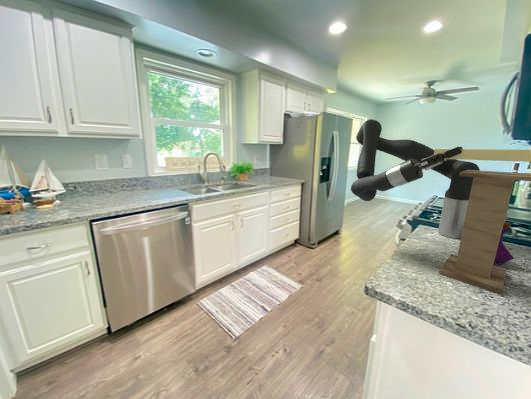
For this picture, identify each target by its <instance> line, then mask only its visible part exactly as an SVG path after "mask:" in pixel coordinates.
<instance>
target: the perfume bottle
mask: <svg viewBox="0 0 531 399" xmlns="http://www.w3.org/2000/svg"><path fill="white" fill-rule="evenodd" d="M508 217H509V213H508V211H507V212H506V216H505V220H504V224H503V228H502V232H501V236H500V240H499V244H498V248H497V252H496V256H495V260H494V264H495V265H503V264H505V263H509V262H510V261H512V260H514V259H515V257H514V256H513V255H512V254H511V252H510V251H509V250H508V249H507V247H506V246H505V245H504V243H503V236H505V234H506V233H507V232H510V231H512V228H511V227H510V226H511V224H512V223H511V222H507V221H506V219H507V218H508Z"/></svg>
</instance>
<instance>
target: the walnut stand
mask: <svg viewBox="0 0 531 399" xmlns="http://www.w3.org/2000/svg"><path fill="white" fill-rule="evenodd" d="M459 176H466V177H474V178H473V182H472V187H471V192H470V197H469V202H468V206H467V211H466V216H465V221H464V226H463V230H462V235H461V238H460V241H459V247H458V250H457V255H455V254H454V253H453V254H451V253H450V254H449V256H448V258H447V259H446V260H445V261H444V263H443V264H442V265H441V267H440V268H439V273H438V274H439V275H442V276H444V277H448V278H450V279H454V280H458V281H460V282H463V283H466V284H468V285H472V286H475V287H477V288H481V289H484V290H487V291H490V292H493V293H495V294H498V295H502V294H503V290H504V285H505V280H506V274H507V268H503V267H499V266H496V265H494V260H495V256H496V252H497V248H498V244H499V240H500V236H501V232H502V228H503V224H504V220H505V216H506V212H507V213H508V207H509V204H510V200H511V195H512V192H513V188H514V183H515V181H522V182H523V181H524V182H531V173H529V172H513V171H512V172H510V171H496V170H495V171H494V170H492V171H491V170H480V171H479V170H465V171H463V172H460V174H459ZM505 221H506V220H505Z"/></svg>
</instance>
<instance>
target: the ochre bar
mask: <svg viewBox="0 0 531 399" xmlns="http://www.w3.org/2000/svg"><path fill="white" fill-rule="evenodd" d="M451 149H452V148H445V149H444V148H436V149H434V150H435V151H434V155H437V154H438V153H442V152H444V153H445V152H446V151H449V150H451ZM461 151H462V153H461V154H458V155H456V156H453V157H451V158H447V159H456V160H460V161H466V160H470V161H492V162H493V161H501V162H504V161H505V162H529V163H530V162H531V149H502V148H500V149H498V148H497V149H493V148H492V149H491V148H490V149H489V148H488V149H486V148H485V149H480V148H479V149H476V148H475V149H472V148H471V149H470V148H469V149H467V148H466V149H465V148H464V149H461Z"/></svg>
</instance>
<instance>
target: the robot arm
mask: <svg viewBox="0 0 531 399" xmlns="http://www.w3.org/2000/svg"><path fill="white" fill-rule="evenodd" d="M382 129H383V128H382V124H381V122H379V121H378V120H376V119H367V120H365V121H364V122H363V123H362V125H361V126H360V128H359V130H358V132H357V134H356V136H355V138H356V139H355V140H356V142H357V143H358V144H360V145H362V147H361V149H360V153H359V157H358V161H357V167H356V177H357V178H356V180H355V181H353V182H352V184H351V186H350V191H351V193H352V194H353V195H355V196H356V197H357V198H359V199H361V200H362V201H364V202H370V201H373V199H374V198H375V197H376V195H377V192H379V191H380V192H386V191H389V190H392V189H394V188H396V187H401V186H404V185H406V184H410V183H411V182H415V181H417V180H420V179H422V178H423V176H424V172H423V170H424V171H429V170H431V171H434V172H436V173H438V174H440V175H442V176H444V177H446V178H448V179H449V180H450V183H449V187H448V189H447V190H446V191H445V192H444V199H443V203H442V209H441V215H440V220H439V225H438V230H437V233H438V234H439V235H441V236H444V237H447V238H452V239H461V235H462V230H463V226H464V221H465V216H466V211H467V206H468V202H469V197H470V192H471V187H472V182H473V178H474V177H466V176H459V174H460V172H463V171H465V170H479V171H481V170H480V167H479V165H478V164H476V163H475V162H473V161H472V162H471V161H466V160H461V159H447V158H451V157H453V156H456V155H458V154H461V153H462V151H461V149H463V146H456V147H453V148H450V149H451V150H449V151H446V152H445V153H444V152H442V153H438V154H437V155H434V151H435V149H433V148H431V147H429V145H428V146H427V145H426V144H423V143H420V142H418V141H415V140H412V139H387V138H384V137H382V136H381V134H382ZM377 151H379V152H382V153H385V154H388V155H390V156H393V157H396V158H397V159H400V160H402V161H403V162H400V163H399V164H397V165H395V166H392V167H391V168H389V169H387V170H385V171H382V172H381V173H378V174H375V169H376V157H377Z"/></svg>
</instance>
